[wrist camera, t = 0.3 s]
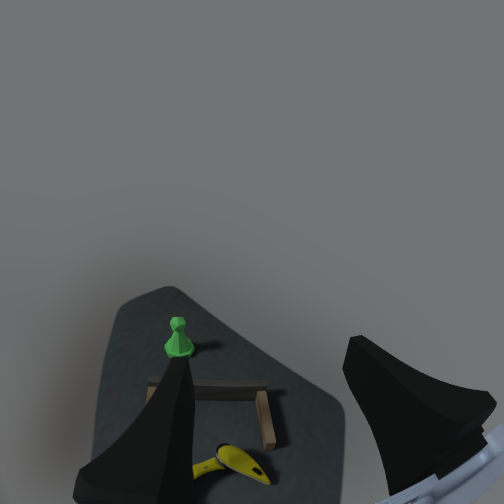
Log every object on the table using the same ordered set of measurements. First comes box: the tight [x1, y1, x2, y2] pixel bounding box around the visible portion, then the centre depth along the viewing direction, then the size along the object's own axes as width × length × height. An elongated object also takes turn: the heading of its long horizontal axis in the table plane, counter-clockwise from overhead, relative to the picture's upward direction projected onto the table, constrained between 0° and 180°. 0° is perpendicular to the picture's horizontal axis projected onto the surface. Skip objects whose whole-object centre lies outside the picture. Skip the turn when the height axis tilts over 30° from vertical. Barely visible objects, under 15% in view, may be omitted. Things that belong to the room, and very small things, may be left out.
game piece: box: [165, 317, 194, 358], centre depth 36 cm, size 4×4×6 cm
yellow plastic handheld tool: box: [193, 443, 271, 485], centre depth 19 cm, size 10×6×4 cm, turn 122°
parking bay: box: [145, 375, 276, 451], centre depth 27 cm, size 8×14×3 cm, turn 96°
